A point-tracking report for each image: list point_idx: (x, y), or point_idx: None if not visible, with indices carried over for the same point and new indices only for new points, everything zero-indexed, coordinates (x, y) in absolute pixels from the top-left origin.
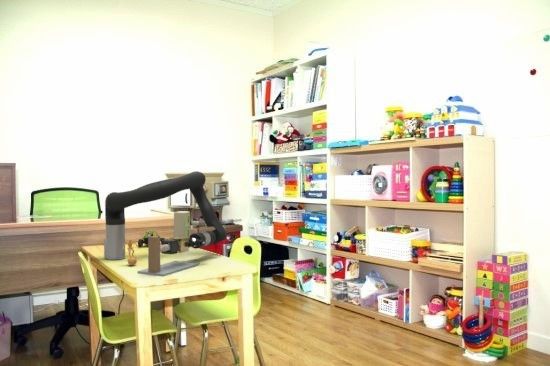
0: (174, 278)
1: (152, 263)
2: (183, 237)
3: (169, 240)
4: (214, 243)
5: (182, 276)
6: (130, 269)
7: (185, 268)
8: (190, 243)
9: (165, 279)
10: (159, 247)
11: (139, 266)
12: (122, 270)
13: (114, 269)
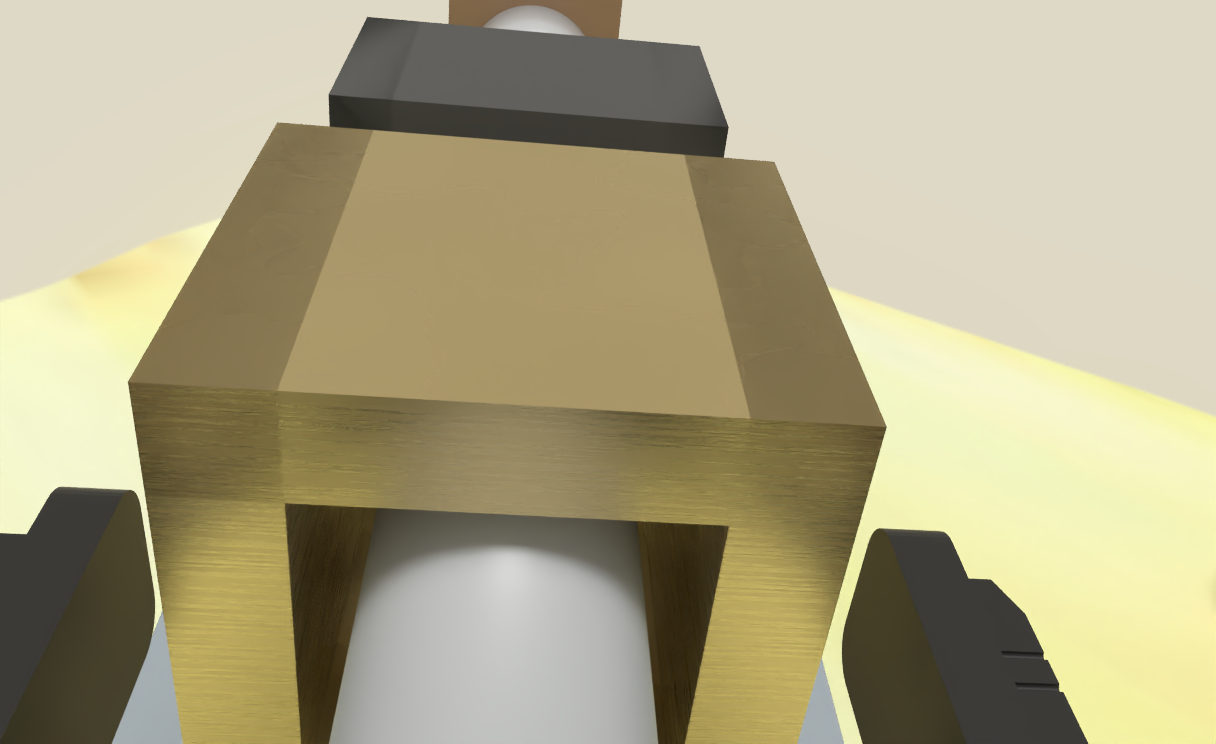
0: (94, 293)
1: None
2: (368, 313)
3: (517, 59)
4: None
5: (12, 367)
6: (1023, 456)
7: (134, 703)
8: (2, 540)
9: (192, 255)
10: (450, 2)
11: (1155, 630)
12: (1040, 399)
13: (1181, 410)
